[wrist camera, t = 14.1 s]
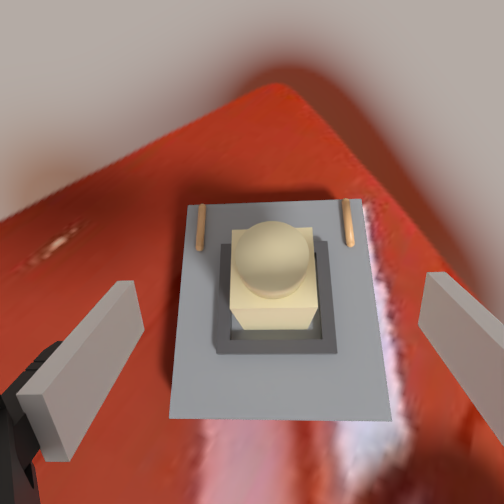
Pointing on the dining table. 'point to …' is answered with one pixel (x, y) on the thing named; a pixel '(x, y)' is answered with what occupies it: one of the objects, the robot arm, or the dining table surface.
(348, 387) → the ball-topped post base
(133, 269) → the dining table surface
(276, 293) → the dome-topped cream pillar
